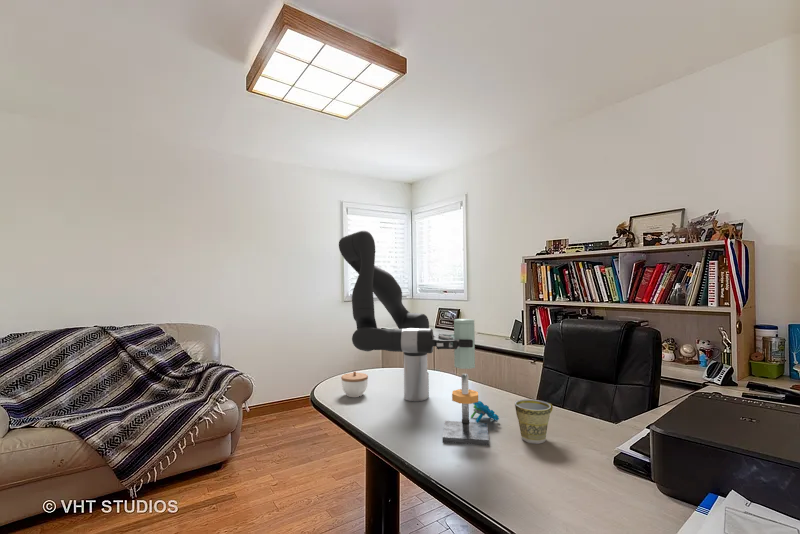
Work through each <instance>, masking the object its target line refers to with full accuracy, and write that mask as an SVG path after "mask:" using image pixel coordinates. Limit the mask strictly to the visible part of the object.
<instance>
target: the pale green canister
mask: <svg viewBox="0 0 800 534" xmlns="http://www.w3.org/2000/svg"><path fill="white" fill-rule="evenodd" d="M453 322H454V323H453V334H454V339H468V340H473V347H460V348H457V349H453V350H454V353H453V354H454V356H453V357H454V358H453V360H454V363H453V364H454V368H456V369H462V370H465V369H467V370H470V369H475V368H476V356H475V355H476V353H475V351H476V350H475V348H476V347H475V345H476V343H475V342H476V341H475V338H476V336H475V319H472V318H456V319H454V320H453Z"/></svg>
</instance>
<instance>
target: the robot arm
mask: <svg viewBox="0 0 800 534" xmlns="http://www.w3.org/2000/svg"><path fill="white" fill-rule="evenodd" d="M338 249H339V252H340V254H341V256H342V257H343V259H344V260H345V261H346V262H347V263H348V264H349V266H351V268H352V269H353V270H355V272H356V273H357V274H358V276H357V278H356V282H355V284H354V287H353V289H352V294H351V304H352V305H351V306H352V308H351V309H352V317H353V320H354V321H355V324H356V330H355V331H354V332H353V333H352V337H351V341H352V344H353V346H354V347H355V348H356V349H358V350H360V351H363V352H371V351H386V352H393V353H394V352H397V353H398V352H400V353H402V352H403V398H404V400H405V401H409V402H422V401H426V400H428V398H429V397H430V393H429V391H430V390H429V389H430V387H429V386H430V383H429V382H430V379H429V377H430V376H429V372H428V354H432V353H433V352H434V347H435V348H436V350H454V349H457V348H460V347H473V340H468V339H454V333H439V334H438V335H434V330H433V328H430V321H429V318H428V316H427V315H426V314H425V313H421V312H419V313H418V312H417V313H416V312H410V311H409V310H408V309H407V308H406V307H405V306H404V304H403V290H402V288H401V286H400V285H399V283H398V282H397V280H396V279H395V277H394V276H393V275H392V274H391V273H389V272H388V271H386V270H385V269H383V268H381V267H378V266H376V265H375V263H376V261H375V260H376V243H375V239H374V237H373V235H372V234H371V233H370V231H368V230H359V231H357V232H354V233H351V234H348V235H346V236H343V237H342V238H340V239H339V241H338ZM374 295H375V297H376V298H377V299H378V300H379V302H380V303H381V304H382V305H383V307H384V308H385V310H386V311H387V312H388V313H389V315H390V317H391V318H392V320H393V321H394V323H395V325H396V327H397V328H379V327H378V325H377V320H376V316H375V303H374V302H375V301H374V300H375V299H374Z"/></svg>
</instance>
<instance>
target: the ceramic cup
mask: <svg viewBox="0 0 800 534" xmlns="http://www.w3.org/2000/svg"><path fill="white" fill-rule="evenodd" d="M553 407H554V406H553V404H552V403H550V402H547V401H544V400H538V399H532V398H531V399H529V398H526V399H525V398H524V399H519V400H516V401H515V402H514V408H515V412H516V417H517V421H518V425H519V430H520V437H521V440H522V441H524V442H526V443H527V444H537V445H539V444H542V443H545V442H546V439H547V431H548V425H549V420H550V417H551V416H550V415H551V413H552V412H553Z"/></svg>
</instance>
